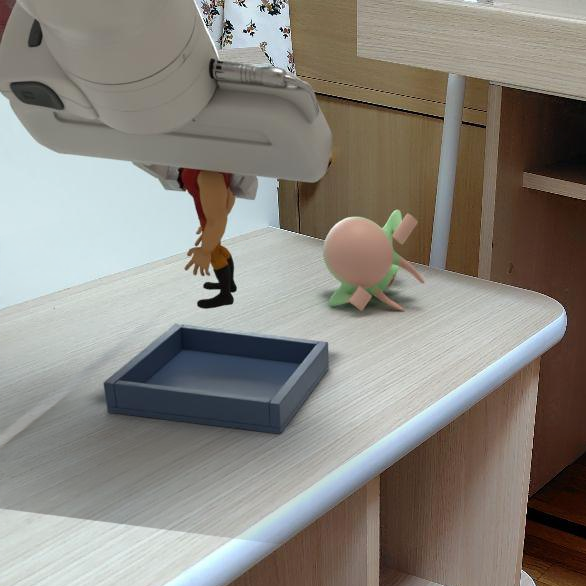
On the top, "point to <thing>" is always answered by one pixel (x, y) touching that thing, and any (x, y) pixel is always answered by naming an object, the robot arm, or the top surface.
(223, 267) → the action figure
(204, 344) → the blue tray
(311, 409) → the top surface
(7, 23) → the robot arm
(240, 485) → the top surface
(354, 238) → the pink green toy creature
